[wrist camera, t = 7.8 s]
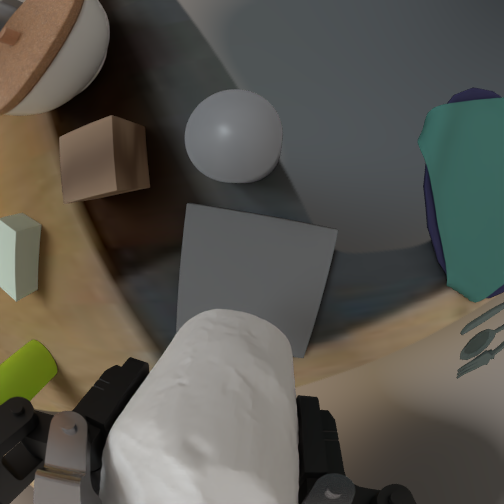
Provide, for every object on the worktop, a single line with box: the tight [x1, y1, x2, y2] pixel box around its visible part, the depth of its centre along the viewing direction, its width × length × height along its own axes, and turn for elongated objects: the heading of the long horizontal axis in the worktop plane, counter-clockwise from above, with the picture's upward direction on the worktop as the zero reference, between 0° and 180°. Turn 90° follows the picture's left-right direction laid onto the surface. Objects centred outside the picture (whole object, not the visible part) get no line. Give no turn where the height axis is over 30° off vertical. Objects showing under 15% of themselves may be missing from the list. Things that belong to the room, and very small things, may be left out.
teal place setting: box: [418, 88, 504, 378], centre depth 17 cm, size 20×30×2 cm, turn 21°
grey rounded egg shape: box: [185, 89, 283, 183], centre depth 15 cm, size 5×5×6 cm
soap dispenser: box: [0, 340, 57, 405], centre depth 17 cm, size 6×7×20 cm
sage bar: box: [0, 213, 42, 302], centre depth 21 cm, size 8×4×4 cm, turn 158°
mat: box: [176, 203, 338, 358], centre depth 21 cm, size 11×11×1 cm
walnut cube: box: [59, 115, 150, 204], centre depth 17 cm, size 5×5×5 cm
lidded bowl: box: [0, 0, 110, 116], centre depth 12 cm, size 13×13×11 cm
